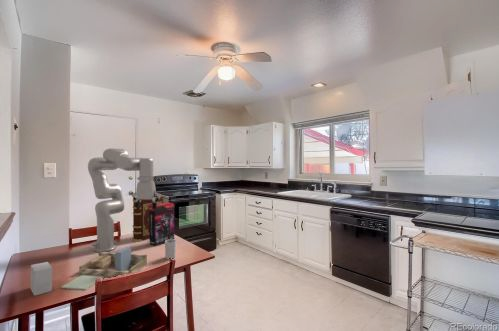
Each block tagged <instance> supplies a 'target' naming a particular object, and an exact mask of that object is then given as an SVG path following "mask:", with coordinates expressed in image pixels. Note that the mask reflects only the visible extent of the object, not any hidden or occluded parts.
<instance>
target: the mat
mask: <svg viewBox="0 0 499 331" xmlns="http://www.w3.org/2000/svg"><path fill="white" fill-rule="evenodd" d="M98 277H101V278H103V279H105V276H98V275H83V274H80V276H78V277H76V278H74V279H73V280H71V281H69V282H68V283H65V284H63V285H62V286H61V289H65V288H66V289H68V290H81V291H83V290H84V291H86V290H88V289H90V288H91V287H93V286H94V285H95V279H96V278H98Z"/></svg>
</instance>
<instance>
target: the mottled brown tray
mask: <svg viewBox="0 0 499 331" xmlns="http://www.w3.org/2000/svg"><path fill="white" fill-rule="evenodd" d="M99 256H111V261H113V265H115V252H108V251H107V252H98V256H97V257H99ZM97 257H95V258H93V259H90V260H89V261H87V262H85V263H83V264H82V265H80V266H79V268H78V269H79V275H87V276H102V277H114V276H118V275H124V274H129V273H133V272H136V271H139V270H140V271H142V270H143V269H144V268H146V267H147V265H148V255H147V254H141V253H140V254H138V253H131V267H130V268H129V269H128V270H126V271H115V269H114V270H112V269H107V270H99V269H89V267H90V266H91V261H93V260H94V259H96V258H97ZM140 271H139V272H140Z"/></svg>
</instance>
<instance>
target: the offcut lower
mask: <svg viewBox="0 0 499 331" xmlns="http://www.w3.org/2000/svg"><path fill="white" fill-rule="evenodd" d="M113 266H114V264H113V261H111V262H109V263H108V264H106V265H105V266H104V267H91V266H90V267H89V269H99V270H110V268H112V267H113Z"/></svg>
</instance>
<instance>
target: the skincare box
mask: <svg viewBox="0 0 499 331" xmlns="http://www.w3.org/2000/svg"><path fill="white" fill-rule="evenodd" d="M30 290H31V293H32V294H33V296H40V295H42V294H46V293H50V292H52V291H53V267H52V265H51V264H50V263H49V262H48V261H45V262H40V263H34V264H31V265H30Z"/></svg>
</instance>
